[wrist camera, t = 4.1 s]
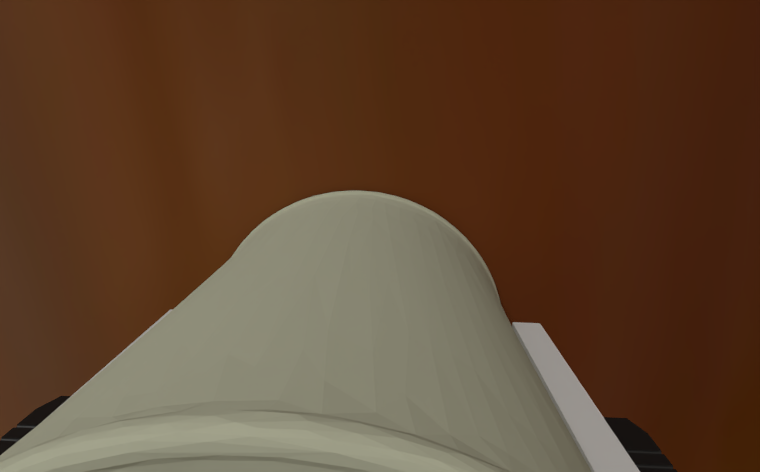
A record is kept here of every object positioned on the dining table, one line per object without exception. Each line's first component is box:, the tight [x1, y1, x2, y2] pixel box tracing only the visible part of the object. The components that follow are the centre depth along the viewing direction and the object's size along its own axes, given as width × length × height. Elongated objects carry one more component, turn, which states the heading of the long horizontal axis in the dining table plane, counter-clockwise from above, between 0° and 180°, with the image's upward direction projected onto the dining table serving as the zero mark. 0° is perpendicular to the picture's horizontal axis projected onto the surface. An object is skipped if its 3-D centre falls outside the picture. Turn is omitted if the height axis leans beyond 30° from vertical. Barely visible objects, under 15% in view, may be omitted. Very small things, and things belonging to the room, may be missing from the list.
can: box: [0, 191, 592, 472], centre depth 10 cm, size 9×9×12 cm
